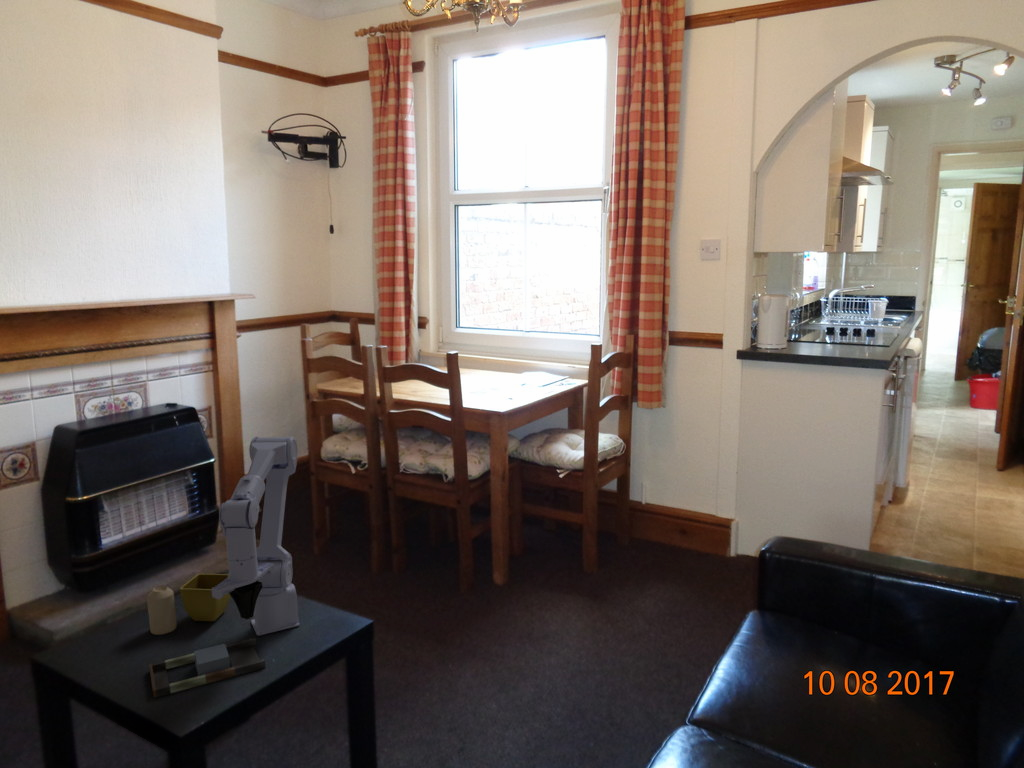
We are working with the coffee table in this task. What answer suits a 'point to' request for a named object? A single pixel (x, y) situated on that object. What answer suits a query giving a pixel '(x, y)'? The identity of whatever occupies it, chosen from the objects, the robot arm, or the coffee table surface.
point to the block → (211, 659)
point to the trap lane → (241, 662)
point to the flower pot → (204, 597)
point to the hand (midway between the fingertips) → (247, 616)
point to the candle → (161, 610)
